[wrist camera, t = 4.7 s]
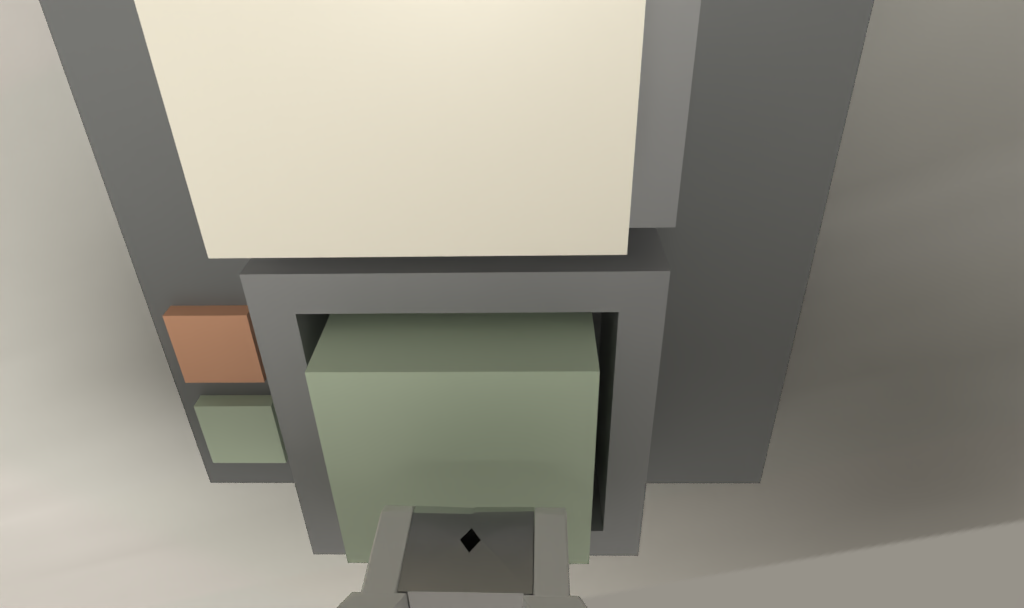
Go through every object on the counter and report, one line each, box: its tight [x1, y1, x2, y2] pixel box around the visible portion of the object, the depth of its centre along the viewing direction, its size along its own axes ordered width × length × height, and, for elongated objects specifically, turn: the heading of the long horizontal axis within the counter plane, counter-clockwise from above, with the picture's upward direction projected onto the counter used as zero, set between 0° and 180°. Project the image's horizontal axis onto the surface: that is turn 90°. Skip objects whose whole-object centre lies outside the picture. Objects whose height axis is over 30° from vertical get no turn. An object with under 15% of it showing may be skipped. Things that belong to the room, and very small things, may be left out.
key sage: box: [305, 312, 600, 564], centre depth 14 cm, size 5×5×4 cm
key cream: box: [134, 0, 646, 258], centre depth 8 cm, size 5×5×4 cm
